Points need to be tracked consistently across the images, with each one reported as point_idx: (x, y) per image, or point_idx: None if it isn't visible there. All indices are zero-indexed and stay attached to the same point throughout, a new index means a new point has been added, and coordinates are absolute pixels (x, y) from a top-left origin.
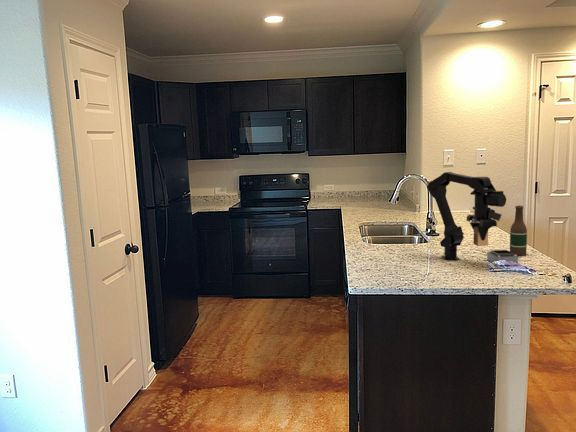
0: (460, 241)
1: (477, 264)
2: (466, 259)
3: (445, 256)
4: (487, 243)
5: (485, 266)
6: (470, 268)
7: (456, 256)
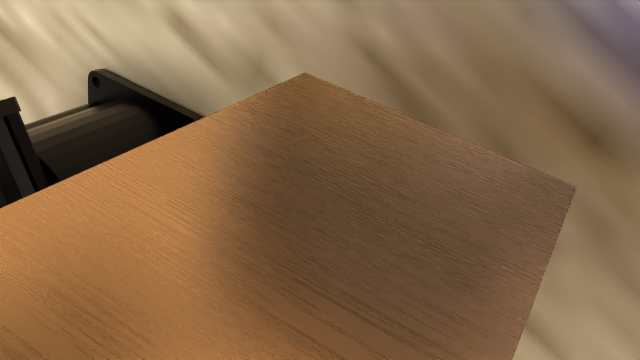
0: (6, 181)
1: (474, 114)
2: (222, 43)
3: None
4: (556, 227)
5: (633, 105)
6: (589, 337)
7: (161, 135)
